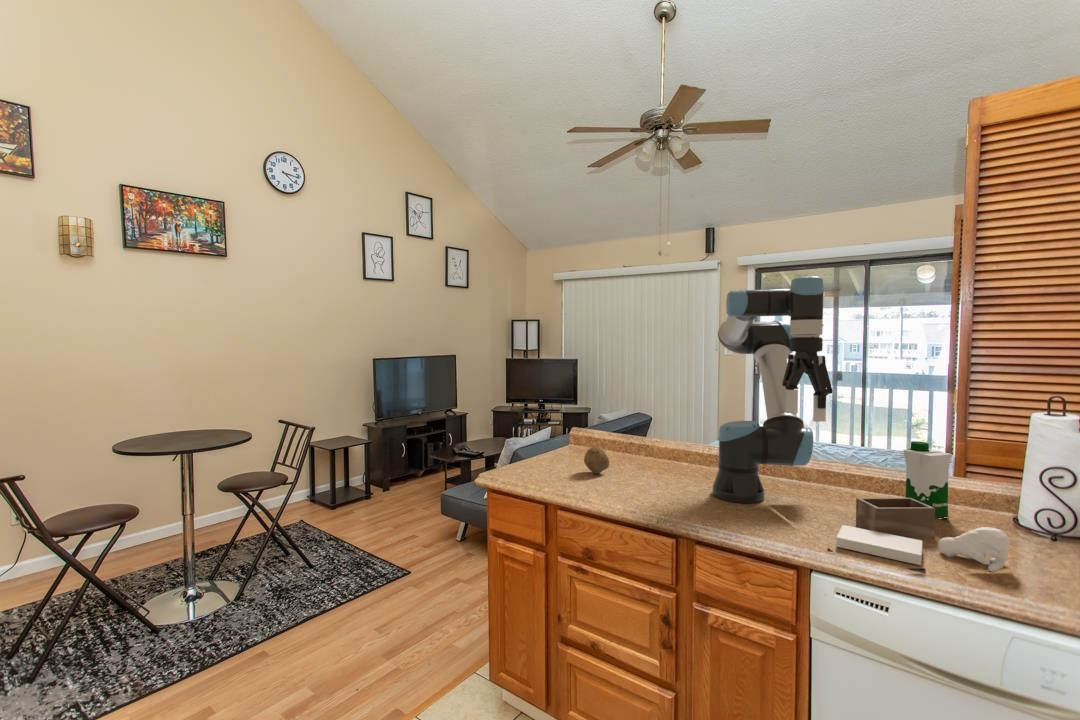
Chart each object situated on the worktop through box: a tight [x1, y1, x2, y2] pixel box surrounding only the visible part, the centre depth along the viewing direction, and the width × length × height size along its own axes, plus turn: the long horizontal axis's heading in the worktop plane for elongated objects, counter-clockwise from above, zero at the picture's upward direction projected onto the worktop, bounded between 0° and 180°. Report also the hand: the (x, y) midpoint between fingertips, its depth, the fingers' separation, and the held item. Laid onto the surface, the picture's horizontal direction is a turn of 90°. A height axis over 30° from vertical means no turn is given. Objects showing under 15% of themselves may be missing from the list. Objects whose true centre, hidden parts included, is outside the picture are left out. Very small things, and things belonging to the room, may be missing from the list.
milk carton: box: [903, 440, 953, 519], centre depth 136 cm, size 9×9×20 cm
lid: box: [835, 524, 923, 566], centre depth 113 cm, size 10×16×3 cm, turn 51°
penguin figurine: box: [937, 526, 1011, 573], centre depth 108 cm, size 6×8×12 cm
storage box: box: [855, 497, 936, 539], centre depth 124 cm, size 8×14×8 cm, turn 89°
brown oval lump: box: [583, 446, 610, 475], centre depth 182 cm, size 9×9×10 cm
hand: (804, 417), depth 130 cm, fingers open, 13 cm apart
